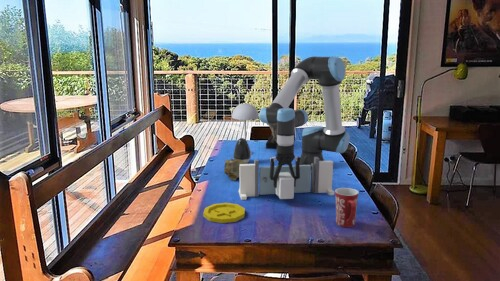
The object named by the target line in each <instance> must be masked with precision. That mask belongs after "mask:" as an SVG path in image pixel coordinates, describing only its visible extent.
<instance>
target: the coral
mask: <svg viewBox="0 0 500 281" xmlns="http://www.w3.org/2000/svg"><path fill="white" fill-rule="evenodd" d="M258 119H259V120H260V118H258ZM267 125H268V126H269V128H270V130H271V136H268V139H267V141H266V143H265V149H273V150H274V149H275V150H277V144H278V143H277V125H275V124H267Z"/></svg>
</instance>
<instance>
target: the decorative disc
mask: <svg viewBox="0 0 500 281" xmlns="http://www.w3.org/2000/svg"><path fill="white" fill-rule="evenodd" d="M245 215H246V208H245V207H244V206H242V205H240V204H237V203H230V202H222V203H213V204H211V205H209V206H207V207H205V208H204V211H203V217H204V218H205V219H206V220H207V221H209V222H213V223H220V224H226V223H227V224H229V223H235V222H238V221H240V220H242V219H244V218H245Z"/></svg>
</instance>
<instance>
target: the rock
mask: <svg viewBox="0 0 500 281" xmlns="http://www.w3.org/2000/svg"><path fill="white" fill-rule="evenodd" d="M240 164H249V162H243V160H240V159H234V158H230V159H226V160H224V171H223V172H224V174H225V175H227V176H228V177H229V179H230V181H233V182H235V181H236V180H237V179H238V178H240Z"/></svg>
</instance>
